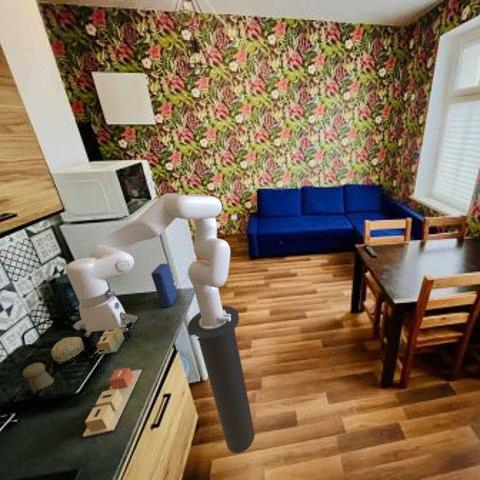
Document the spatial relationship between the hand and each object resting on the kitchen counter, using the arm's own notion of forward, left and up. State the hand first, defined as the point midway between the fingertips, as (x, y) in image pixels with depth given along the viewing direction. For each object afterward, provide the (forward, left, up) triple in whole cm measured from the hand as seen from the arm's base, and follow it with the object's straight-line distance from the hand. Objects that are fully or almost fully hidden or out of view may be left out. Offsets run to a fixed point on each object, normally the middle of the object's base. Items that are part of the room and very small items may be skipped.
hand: (113, 340), depth 87 cm
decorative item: (+34, -7, -19) cm, 40 cm away
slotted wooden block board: (0, +7, -19) cm, 20 cm away
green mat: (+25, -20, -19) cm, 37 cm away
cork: (+28, +7, -19) cm, 35 cm away
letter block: (+2, +1, -19) cm, 19 cm away
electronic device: (+18, -45, -19) cm, 52 cm away
